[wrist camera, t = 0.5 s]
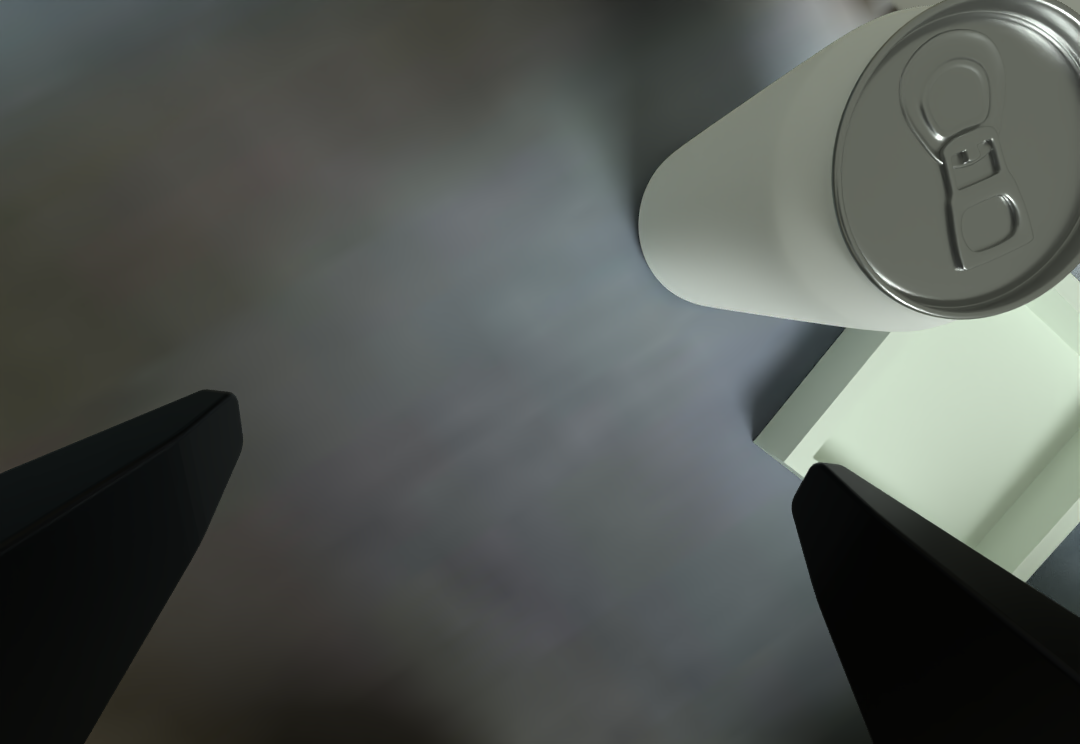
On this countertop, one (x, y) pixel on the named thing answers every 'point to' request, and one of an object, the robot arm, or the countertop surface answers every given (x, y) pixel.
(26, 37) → the countertop surface
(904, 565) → the robot arm
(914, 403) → the tray
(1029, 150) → the can
